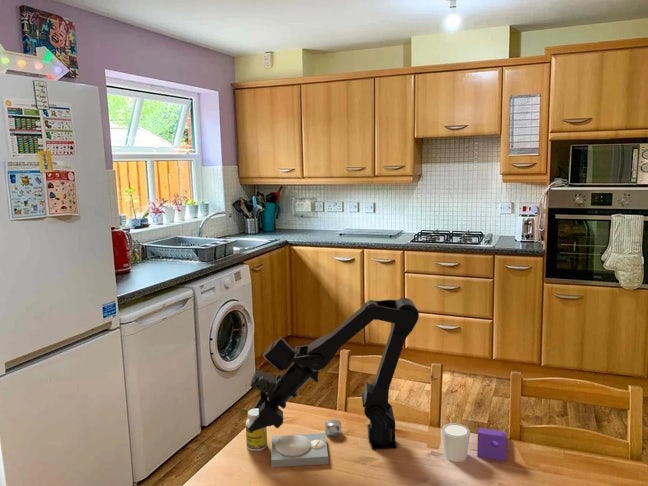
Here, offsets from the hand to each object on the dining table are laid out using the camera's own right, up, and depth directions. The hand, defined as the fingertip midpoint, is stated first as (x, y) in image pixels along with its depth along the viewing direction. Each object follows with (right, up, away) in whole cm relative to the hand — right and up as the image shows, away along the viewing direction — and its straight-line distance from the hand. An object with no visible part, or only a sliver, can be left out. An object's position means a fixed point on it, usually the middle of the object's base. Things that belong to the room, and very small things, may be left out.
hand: (250, 423), depth 138 cm
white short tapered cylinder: (+52, -7, -5) cm, 53 cm away
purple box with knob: (+63, -6, -1) cm, 63 cm away
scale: (+13, -7, -2) cm, 15 cm away
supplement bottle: (+2, -7, +1) cm, 7 cm away
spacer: (+22, -5, +7) cm, 23 cm away
